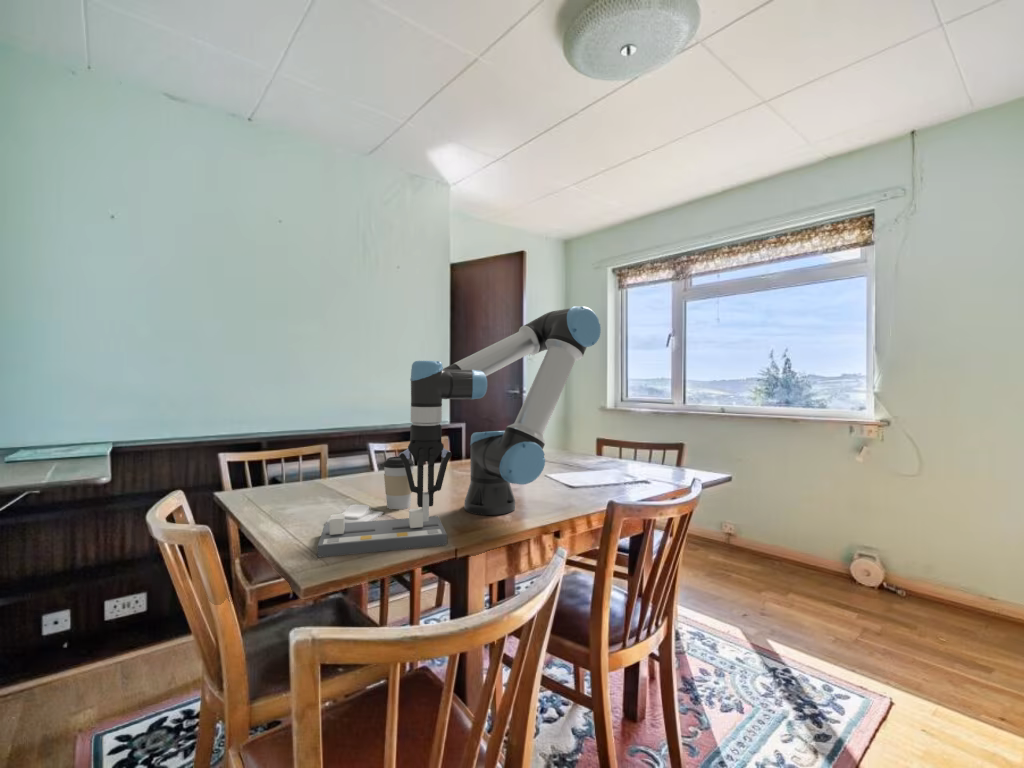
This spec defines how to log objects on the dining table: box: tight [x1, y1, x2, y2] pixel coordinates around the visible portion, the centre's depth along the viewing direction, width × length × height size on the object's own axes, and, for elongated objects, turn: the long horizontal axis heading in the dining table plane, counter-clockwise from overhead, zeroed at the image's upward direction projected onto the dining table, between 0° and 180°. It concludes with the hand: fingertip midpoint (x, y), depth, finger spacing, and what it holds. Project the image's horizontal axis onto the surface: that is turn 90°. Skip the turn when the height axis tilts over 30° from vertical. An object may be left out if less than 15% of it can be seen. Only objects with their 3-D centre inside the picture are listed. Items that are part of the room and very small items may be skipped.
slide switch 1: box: [329, 513, 345, 535], centre depth 111 cm, size 3×4×4 cm
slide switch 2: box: [408, 507, 423, 528], centre depth 116 cm, size 3×4×4 cm
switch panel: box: [317, 515, 448, 558], centre depth 114 cm, size 28×15×3 cm, turn 106°
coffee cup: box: [382, 455, 415, 510], centre depth 142 cm, size 9×9×15 cm
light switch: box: [325, 504, 384, 525], centre depth 130 cm, size 11×4×13 cm
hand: (425, 519), depth 116 cm, fingers closed
